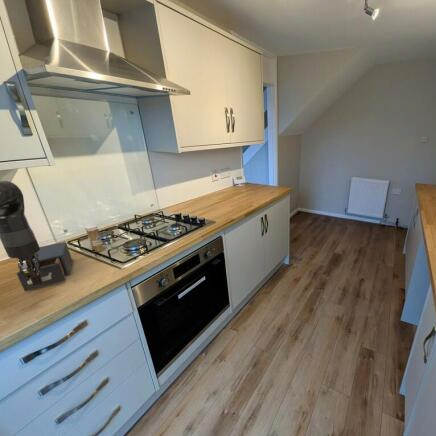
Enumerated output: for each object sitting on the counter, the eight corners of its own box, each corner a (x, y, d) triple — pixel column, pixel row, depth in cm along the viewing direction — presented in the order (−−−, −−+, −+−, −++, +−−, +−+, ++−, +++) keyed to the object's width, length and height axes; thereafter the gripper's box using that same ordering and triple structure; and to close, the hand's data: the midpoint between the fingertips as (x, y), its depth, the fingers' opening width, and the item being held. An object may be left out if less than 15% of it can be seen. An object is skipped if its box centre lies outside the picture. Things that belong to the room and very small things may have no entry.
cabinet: (69, 274, 100) (62, 255, 97) (27, 285, 93) (17, 264, 90) (72, 260, 111) (65, 241, 108) (34, 268, 104) (26, 249, 101)
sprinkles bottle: (100, 252, 118) (92, 227, 114) (90, 252, 118) (82, 228, 113) (105, 248, 123) (98, 224, 118) (96, 248, 122) (88, 224, 117)
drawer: (64, 286, 92) (57, 269, 89) (22, 297, 85) (13, 279, 83) (68, 265, 105) (62, 250, 102) (32, 274, 99) (25, 258, 96)
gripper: (8, 236, 82) (27, 278, 89) (-4, 252, 73) (18, 297, 79) (39, 231, 87) (55, 271, 93) (31, 245, 77) (49, 289, 83)
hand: (38, 283), depth 86 cm, fingers closed
